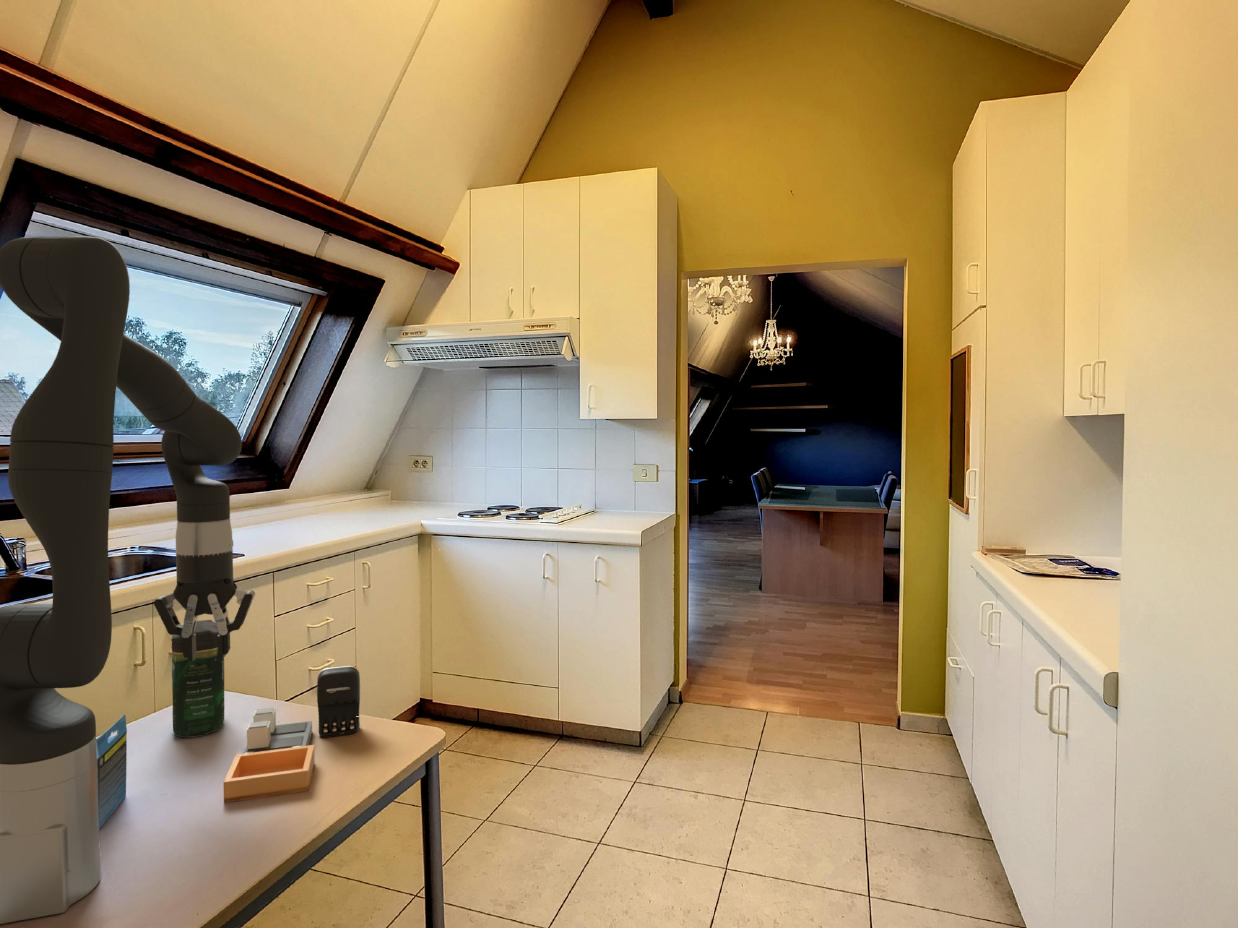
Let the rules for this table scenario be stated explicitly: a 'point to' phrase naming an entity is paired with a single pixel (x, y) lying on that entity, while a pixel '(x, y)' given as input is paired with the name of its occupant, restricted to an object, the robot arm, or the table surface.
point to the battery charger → (338, 700)
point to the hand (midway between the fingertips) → (207, 657)
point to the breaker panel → (287, 737)
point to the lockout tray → (269, 773)
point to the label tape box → (111, 769)
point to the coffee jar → (198, 684)
